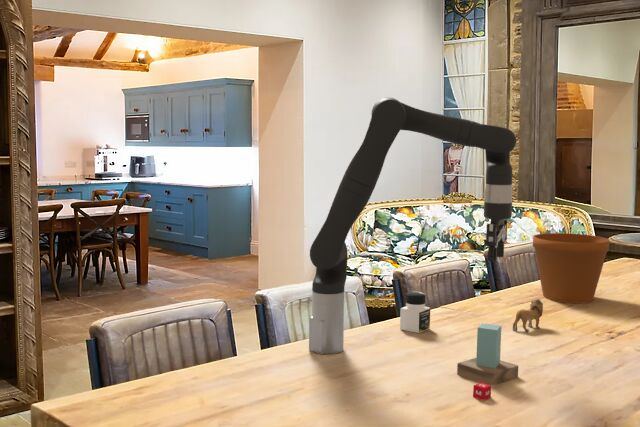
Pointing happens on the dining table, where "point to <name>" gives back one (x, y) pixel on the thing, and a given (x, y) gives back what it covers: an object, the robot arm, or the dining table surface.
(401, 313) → the medicine bottle
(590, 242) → the flowerpot
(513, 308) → the dining table surface
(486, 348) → the teal pillar block
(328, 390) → the dining table surface
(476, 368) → the walnut base plate
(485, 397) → the dice
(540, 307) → the lion figurine
